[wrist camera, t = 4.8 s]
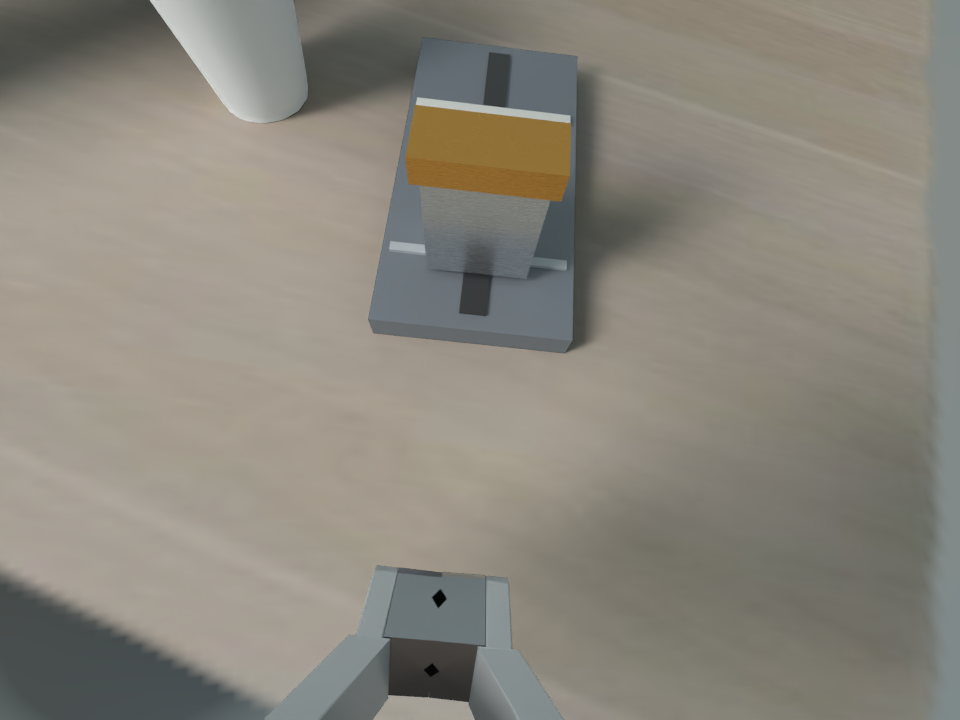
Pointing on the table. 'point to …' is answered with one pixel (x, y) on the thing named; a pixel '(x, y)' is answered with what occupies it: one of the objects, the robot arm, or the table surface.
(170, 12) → the foam cup
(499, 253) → the plate
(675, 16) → the table surface
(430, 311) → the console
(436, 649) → the robot arm
